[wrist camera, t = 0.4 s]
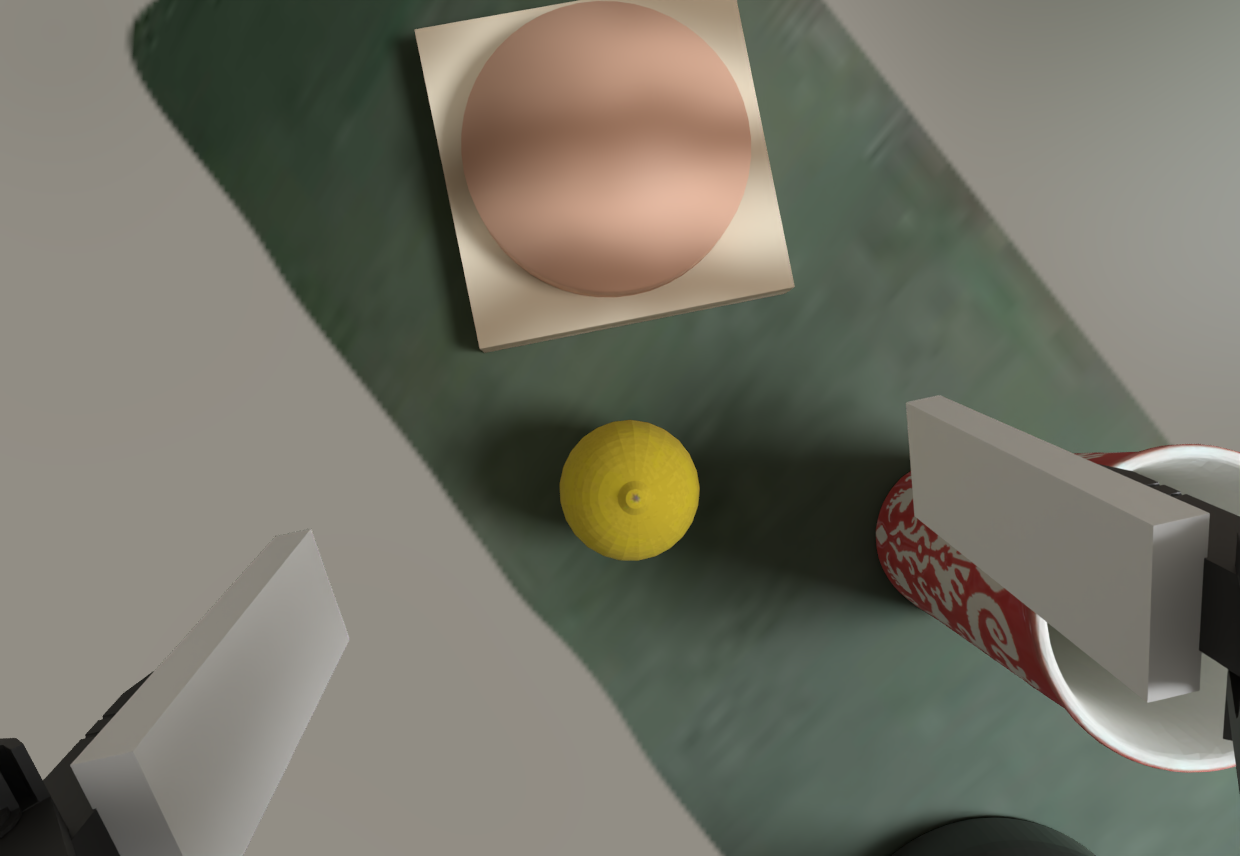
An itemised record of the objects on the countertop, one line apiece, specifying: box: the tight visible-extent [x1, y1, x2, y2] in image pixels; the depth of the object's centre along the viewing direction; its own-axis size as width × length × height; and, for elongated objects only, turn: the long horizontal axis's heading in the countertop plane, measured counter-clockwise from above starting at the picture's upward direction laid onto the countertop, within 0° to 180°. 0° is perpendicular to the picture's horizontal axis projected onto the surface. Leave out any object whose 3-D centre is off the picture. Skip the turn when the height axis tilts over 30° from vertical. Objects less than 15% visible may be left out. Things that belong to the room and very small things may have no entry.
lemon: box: [560, 420, 700, 561], centre depth 28 cm, size 6×6×8 cm
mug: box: [876, 444, 1240, 772], centre depth 26 cm, size 13×9×14 cm
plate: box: [415, 0, 794, 353], centre depth 31 cm, size 14×14×3 cm
